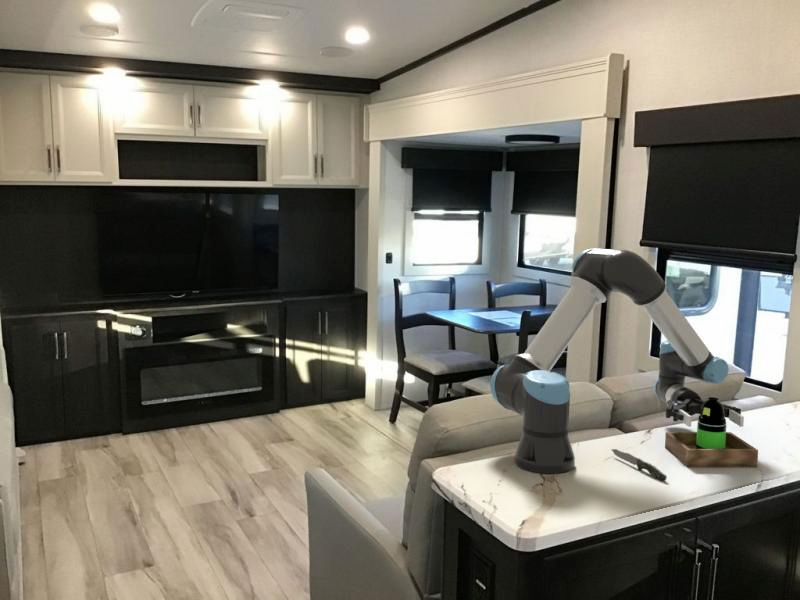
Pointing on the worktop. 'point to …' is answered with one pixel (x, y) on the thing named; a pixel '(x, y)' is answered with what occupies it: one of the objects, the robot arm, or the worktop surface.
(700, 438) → the bottle
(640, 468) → the knife
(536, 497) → the worktop surface
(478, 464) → the worktop surface
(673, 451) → the crate
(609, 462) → the worktop surface
